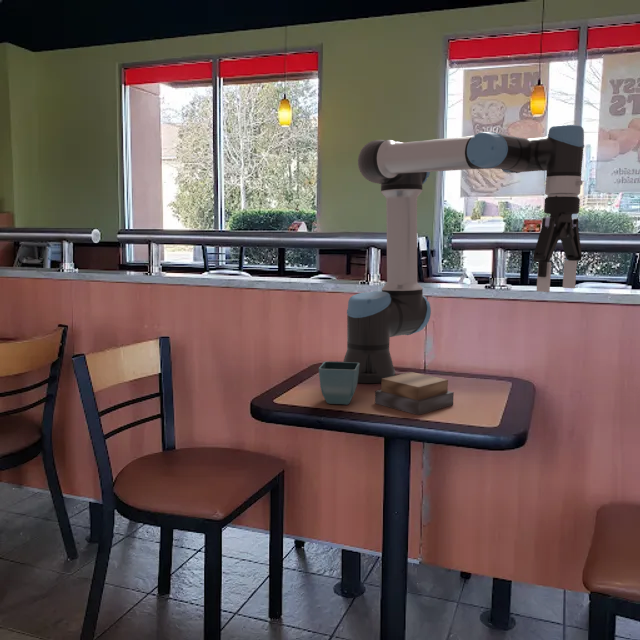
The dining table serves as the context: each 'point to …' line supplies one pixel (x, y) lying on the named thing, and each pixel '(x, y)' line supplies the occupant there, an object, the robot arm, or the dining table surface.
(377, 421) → the dining table surface
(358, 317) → the robot arm
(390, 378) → the tier stand
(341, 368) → the flower pot
